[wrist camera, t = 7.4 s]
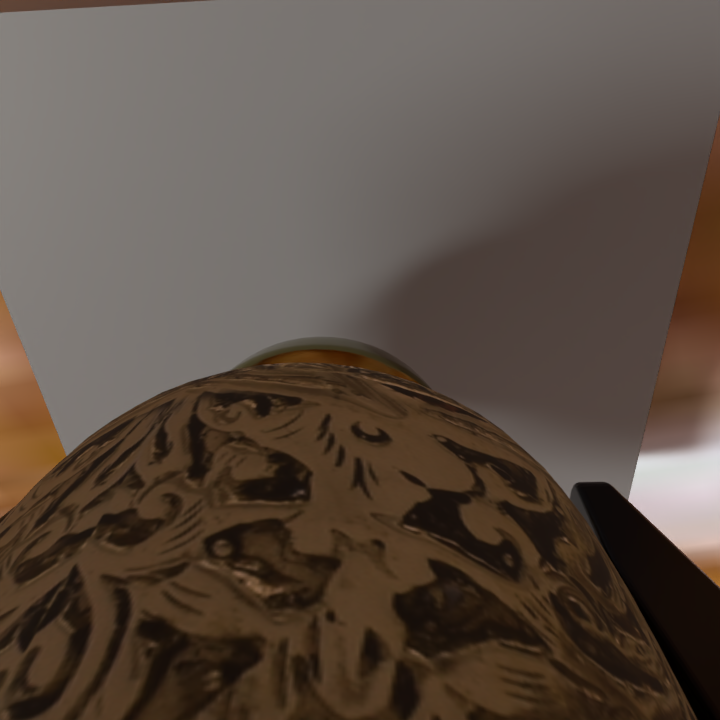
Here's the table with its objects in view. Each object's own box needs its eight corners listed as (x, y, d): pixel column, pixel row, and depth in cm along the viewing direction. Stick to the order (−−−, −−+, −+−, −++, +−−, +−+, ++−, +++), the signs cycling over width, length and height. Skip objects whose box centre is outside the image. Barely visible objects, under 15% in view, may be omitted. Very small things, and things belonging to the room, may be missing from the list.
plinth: (148, 470, 18) (110, 565, 15) (-3, -11, 11) (-108, 19, 9) (580, 460, 17) (614, 557, 15) (669, -51, 11) (754, -32, 8)
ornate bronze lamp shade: (-32, 255, 9) (-1207, 1336, 2) (547, 102, 8) (1609, 1491, 1) (197, 604, 13) (10, 1351, 6) (598, 541, 12) (880, 1386, 5)
